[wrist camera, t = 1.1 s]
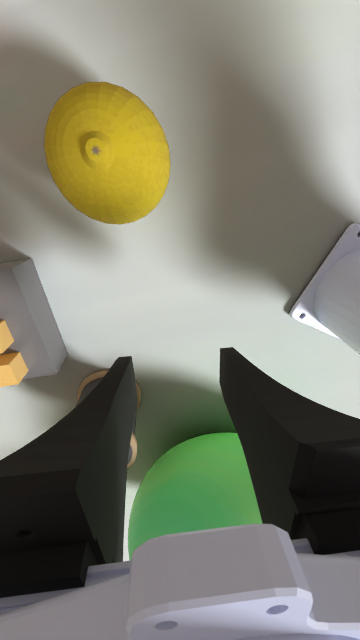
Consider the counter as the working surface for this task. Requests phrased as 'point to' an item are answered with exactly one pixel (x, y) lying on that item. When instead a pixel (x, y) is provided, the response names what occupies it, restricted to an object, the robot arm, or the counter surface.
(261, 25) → the counter surface
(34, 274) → the breaker strip
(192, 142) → the counter surface
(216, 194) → the counter surface
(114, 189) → the lemon
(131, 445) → the cord spool
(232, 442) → the green toy teapot
